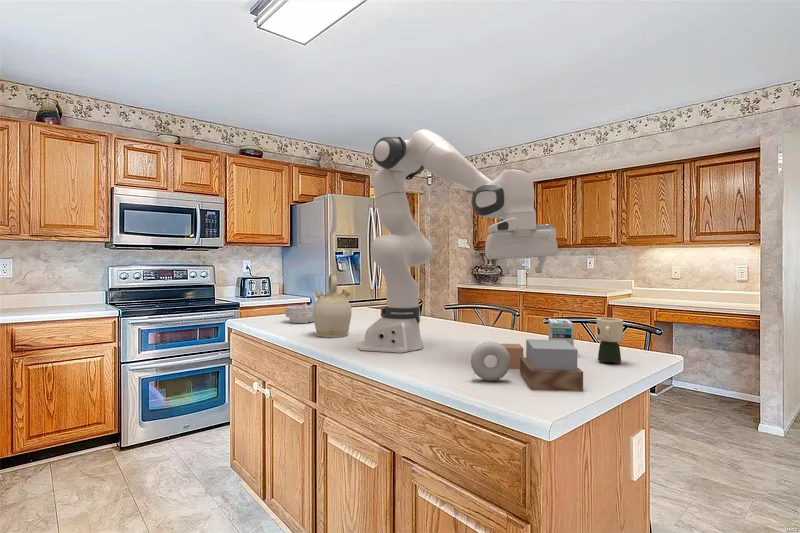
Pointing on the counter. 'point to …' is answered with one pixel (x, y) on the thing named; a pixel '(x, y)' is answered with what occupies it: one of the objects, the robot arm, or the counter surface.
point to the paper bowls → (300, 313)
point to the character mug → (609, 339)
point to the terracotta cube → (514, 354)
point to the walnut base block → (551, 378)
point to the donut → (492, 372)
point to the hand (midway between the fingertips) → (522, 273)
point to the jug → (332, 311)
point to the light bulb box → (561, 330)
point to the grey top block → (551, 355)
